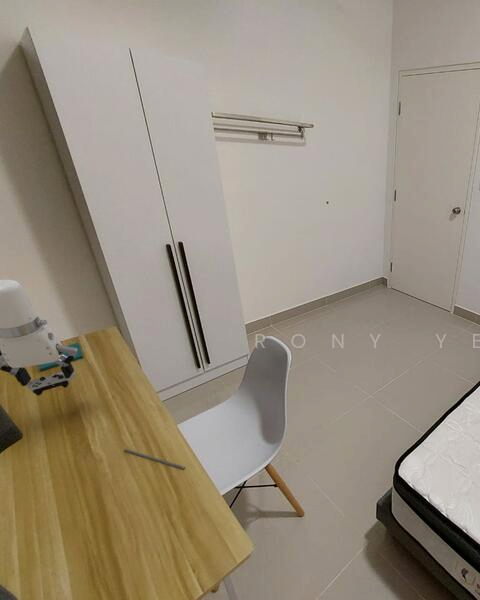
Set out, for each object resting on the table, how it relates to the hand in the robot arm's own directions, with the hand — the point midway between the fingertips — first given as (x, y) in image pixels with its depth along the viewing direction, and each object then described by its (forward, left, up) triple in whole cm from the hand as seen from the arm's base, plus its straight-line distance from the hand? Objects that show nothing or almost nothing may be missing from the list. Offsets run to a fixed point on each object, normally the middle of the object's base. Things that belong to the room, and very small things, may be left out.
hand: (48, 378), depth 92 cm
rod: (+26, -28, -13) cm, 41 cm away
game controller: (0, 0, -3) cm, 3 cm away
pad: (-12, +31, -12) cm, 36 cm away
